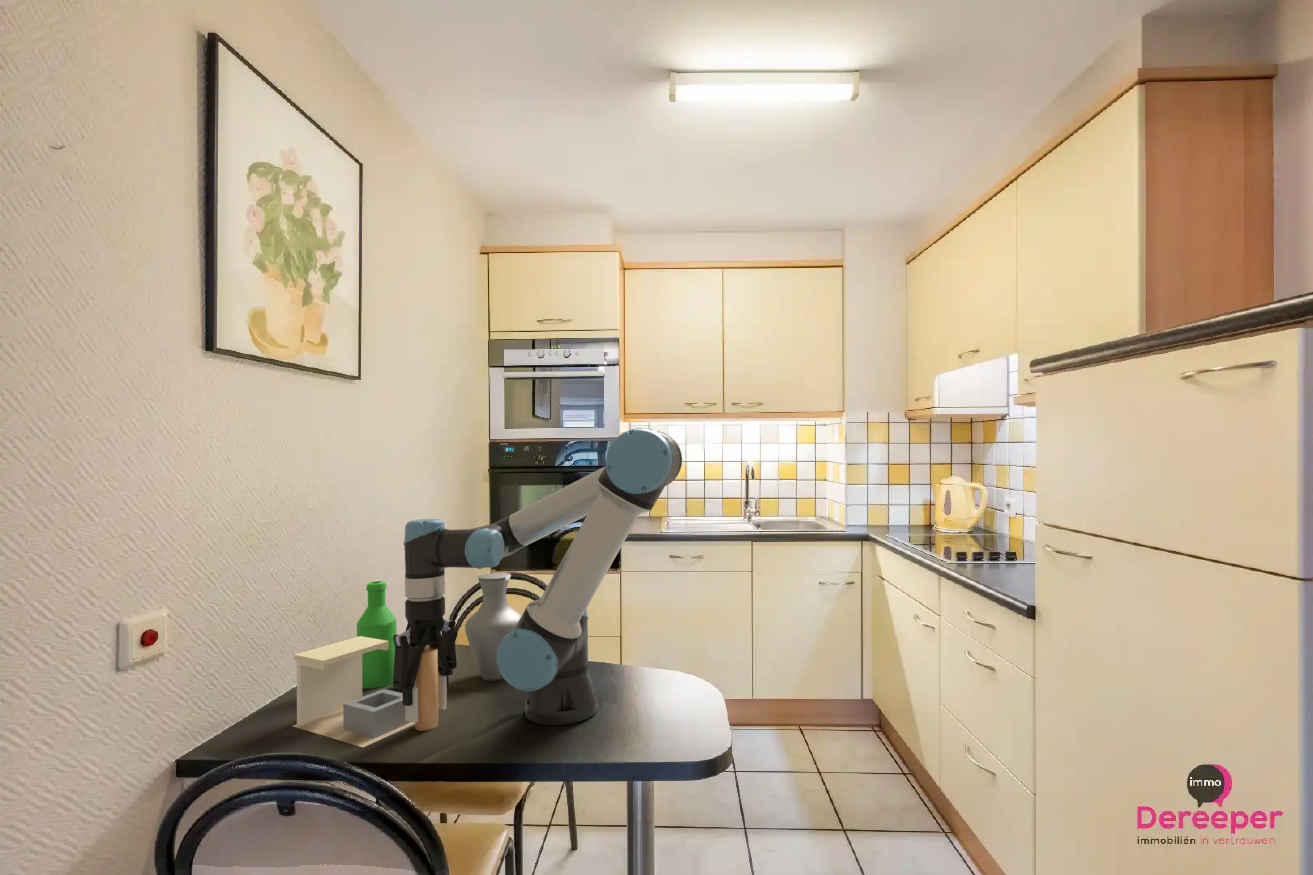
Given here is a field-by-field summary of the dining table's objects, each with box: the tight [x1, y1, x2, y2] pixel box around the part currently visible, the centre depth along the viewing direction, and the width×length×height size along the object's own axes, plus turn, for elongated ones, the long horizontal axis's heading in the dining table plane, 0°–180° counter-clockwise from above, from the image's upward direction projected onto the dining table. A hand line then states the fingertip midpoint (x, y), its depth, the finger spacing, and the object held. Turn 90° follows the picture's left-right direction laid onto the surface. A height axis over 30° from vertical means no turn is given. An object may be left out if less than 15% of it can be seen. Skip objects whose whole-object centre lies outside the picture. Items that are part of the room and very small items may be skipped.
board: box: [292, 709, 415, 748], centre depth 130 cm, size 22×16×1 cm
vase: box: [464, 572, 522, 681], centre depth 159 cm, size 14×14×25 cm
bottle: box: [356, 580, 398, 689], centre depth 154 cm, size 9×9×25 cm
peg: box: [414, 646, 439, 732], centre depth 127 cm, size 4×4×16 cm
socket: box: [343, 688, 410, 739], centre depth 127 cm, size 9×9×5 cm
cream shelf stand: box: [293, 636, 389, 725], centre depth 133 cm, size 10×15×14 cm, turn 151°
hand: (426, 714), depth 126 cm, fingers open, 6 cm apart
